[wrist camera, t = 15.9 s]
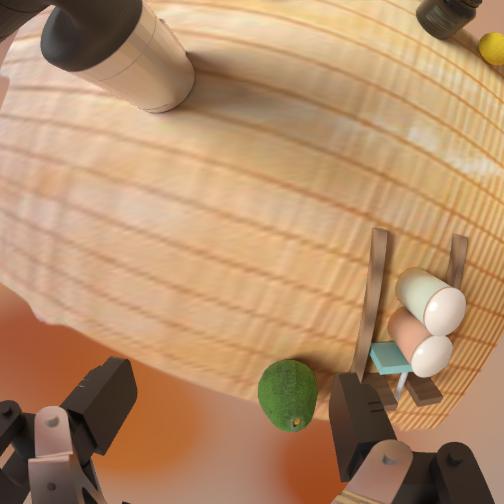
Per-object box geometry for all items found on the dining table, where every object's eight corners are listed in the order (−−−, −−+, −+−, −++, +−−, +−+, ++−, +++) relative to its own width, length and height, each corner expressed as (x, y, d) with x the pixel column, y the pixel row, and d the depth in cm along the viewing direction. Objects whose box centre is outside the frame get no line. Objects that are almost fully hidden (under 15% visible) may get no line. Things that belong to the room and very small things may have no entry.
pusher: (368, 343, 38) (382, 367, 32) (430, 339, 37) (449, 359, 31) (358, 387, 40) (367, 413, 33) (416, 381, 39) (431, 404, 33)
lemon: (476, 37, 26) (500, 21, 18) (497, 61, 26) (523, 49, 19) (466, 50, 27) (492, 34, 19) (488, 76, 28) (516, 63, 20)
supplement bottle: (427, 2, 26) (458, -33, 14) (456, 32, 27) (494, 3, 15) (407, 14, 27) (438, -25, 16) (439, 46, 28) (478, 15, 16)
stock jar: (390, 305, 37) (419, 338, 27) (424, 304, 36) (457, 334, 27) (383, 341, 38) (407, 380, 29) (416, 339, 38) (444, 374, 28)
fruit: (313, 387, 41) (322, 443, 29) (262, 391, 41) (257, 448, 30) (313, 344, 39) (325, 399, 27) (257, 349, 40) (250, 404, 28)
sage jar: (398, 266, 36) (432, 289, 26) (432, 267, 35) (470, 288, 26) (391, 306, 37) (421, 338, 27) (425, 305, 36) (459, 334, 27)
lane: (372, 228, 35) (397, 238, 27) (458, 234, 34) (491, 245, 26) (348, 380, 40) (359, 414, 32) (426, 373, 39) (446, 401, 31)
